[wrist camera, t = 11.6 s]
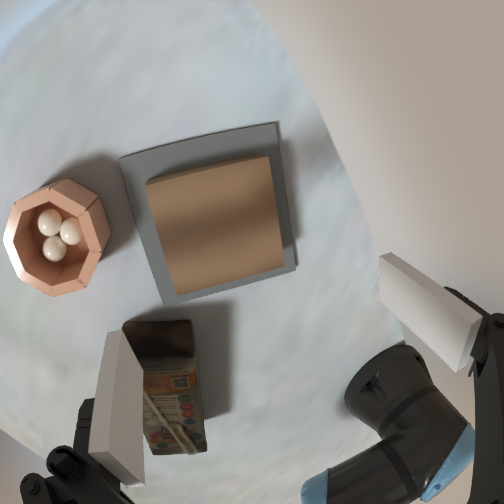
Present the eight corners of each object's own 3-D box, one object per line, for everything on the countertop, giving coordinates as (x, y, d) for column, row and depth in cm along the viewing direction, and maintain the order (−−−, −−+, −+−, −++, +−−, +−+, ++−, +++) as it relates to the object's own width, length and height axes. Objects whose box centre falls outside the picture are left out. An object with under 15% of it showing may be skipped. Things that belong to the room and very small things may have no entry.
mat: (293, 267, 33) (295, 270, 32) (164, 303, 31) (164, 306, 30) (273, 123, 26) (275, 123, 26) (119, 158, 24) (118, 159, 24)
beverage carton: (149, 424, 38) (151, 461, 32) (119, 318, 30) (111, 359, 24) (203, 420, 40) (210, 456, 34) (191, 313, 32) (198, 353, 26)
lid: (274, 253, 31) (285, 266, 28) (176, 280, 29) (177, 295, 27) (258, 153, 27) (268, 156, 24) (147, 179, 25) (144, 186, 22)
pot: (120, 257, 28) (113, 280, 23) (46, 278, 26) (30, 303, 22) (93, 168, 24) (78, 176, 20) (16, 198, 23) (-8, 211, 18)
